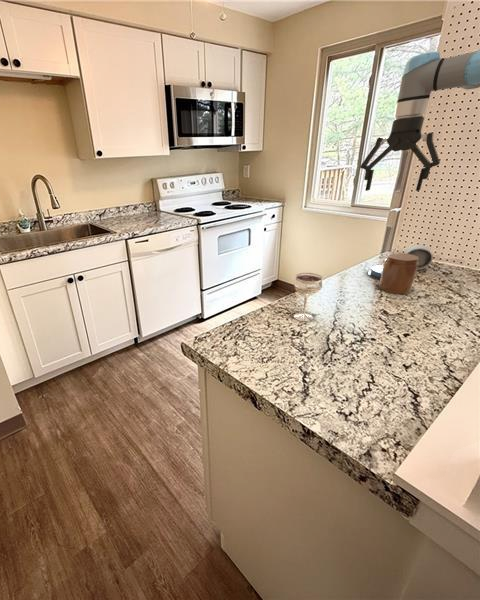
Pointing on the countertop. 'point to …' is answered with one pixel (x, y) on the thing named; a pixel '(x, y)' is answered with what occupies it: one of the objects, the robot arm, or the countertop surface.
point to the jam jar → (398, 273)
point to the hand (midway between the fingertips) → (391, 190)
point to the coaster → (373, 276)
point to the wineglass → (307, 290)
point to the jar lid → (377, 271)
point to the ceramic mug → (421, 255)
